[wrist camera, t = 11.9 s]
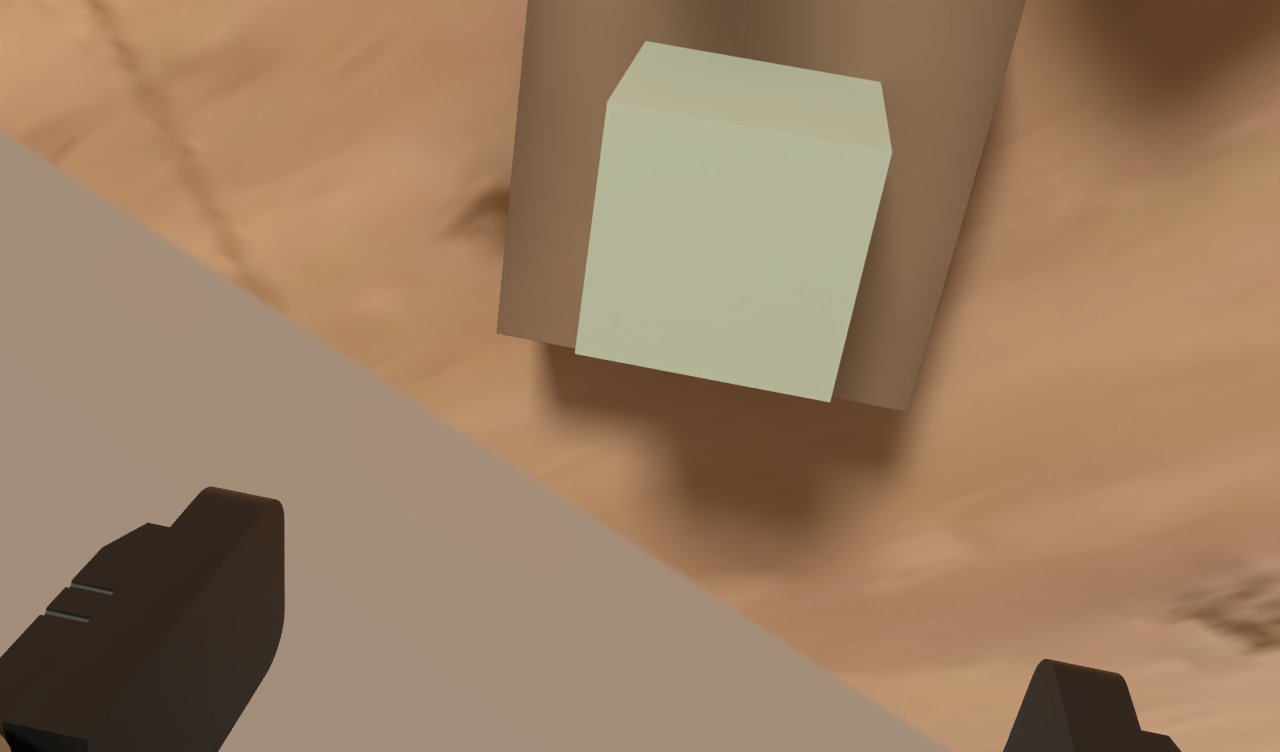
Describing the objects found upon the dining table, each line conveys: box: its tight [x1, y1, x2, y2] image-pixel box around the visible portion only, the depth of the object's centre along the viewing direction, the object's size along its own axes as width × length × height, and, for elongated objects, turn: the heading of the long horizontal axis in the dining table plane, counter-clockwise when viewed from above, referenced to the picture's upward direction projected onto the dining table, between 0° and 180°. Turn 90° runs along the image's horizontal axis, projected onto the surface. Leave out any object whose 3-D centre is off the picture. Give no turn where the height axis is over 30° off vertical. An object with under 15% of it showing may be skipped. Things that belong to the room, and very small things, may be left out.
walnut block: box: [497, 0, 1026, 412], centre depth 28 cm, size 10×10×4 cm
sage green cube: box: [575, 41, 892, 402], centre depth 24 cm, size 5×5×5 cm
